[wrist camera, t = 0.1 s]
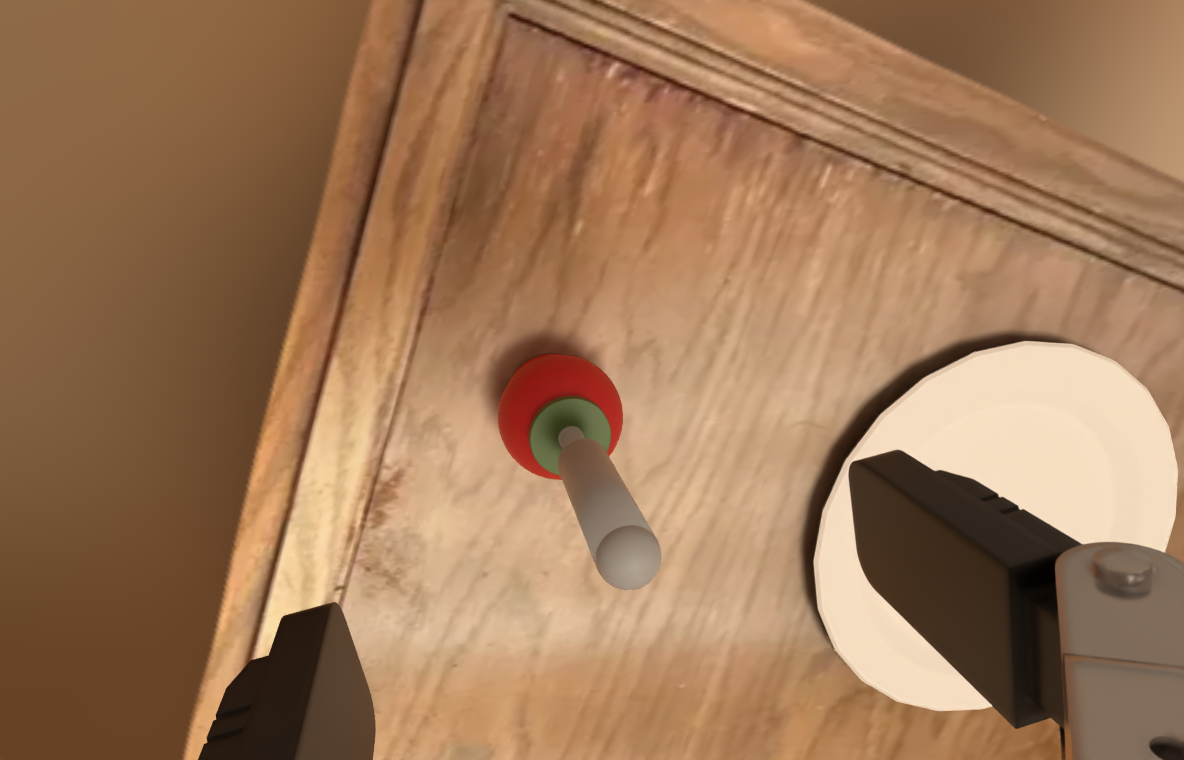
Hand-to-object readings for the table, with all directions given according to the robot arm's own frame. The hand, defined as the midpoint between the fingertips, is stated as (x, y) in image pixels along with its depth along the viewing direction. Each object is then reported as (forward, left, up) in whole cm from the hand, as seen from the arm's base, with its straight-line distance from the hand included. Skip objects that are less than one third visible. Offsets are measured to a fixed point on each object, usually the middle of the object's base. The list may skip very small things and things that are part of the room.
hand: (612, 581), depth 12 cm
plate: (+18, +22, -24) cm, 37 cm away
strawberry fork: (+5, +1, -24) cm, 24 cm away
